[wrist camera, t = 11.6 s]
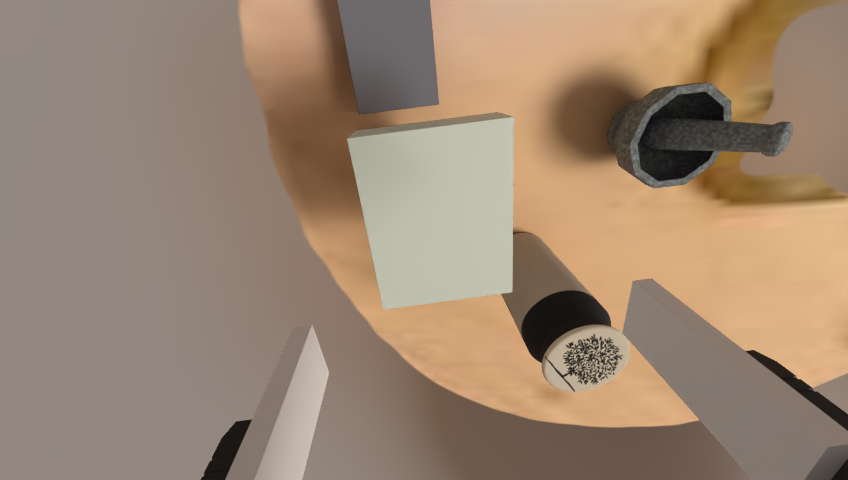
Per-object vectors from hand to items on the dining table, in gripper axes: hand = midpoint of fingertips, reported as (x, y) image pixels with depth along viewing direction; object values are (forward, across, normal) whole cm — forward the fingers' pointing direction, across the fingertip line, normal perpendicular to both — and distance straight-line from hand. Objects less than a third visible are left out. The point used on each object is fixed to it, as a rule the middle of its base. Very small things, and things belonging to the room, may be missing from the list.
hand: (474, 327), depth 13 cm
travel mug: (+27, +11, -13) cm, 32 cm away
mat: (+27, -2, +17) cm, 31 cm away
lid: (+16, 0, 0) cm, 16 cm away
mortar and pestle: (+27, +25, +2) cm, 37 cm away
